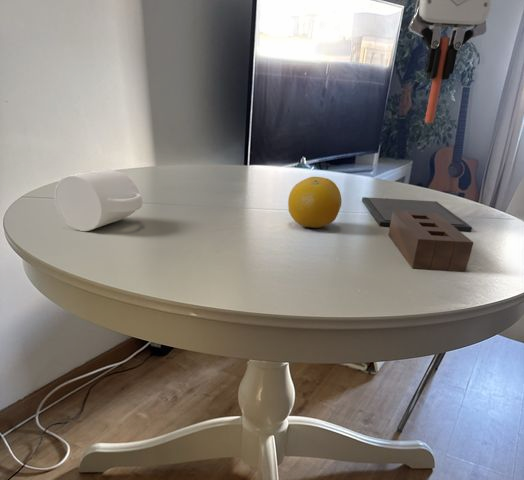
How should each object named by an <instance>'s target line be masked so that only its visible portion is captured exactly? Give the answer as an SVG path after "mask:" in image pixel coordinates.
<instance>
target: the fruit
mask: <svg viewBox="0 0 524 480" xmlns="http://www.w3.org/2000/svg"><path fill="white" fill-rule="evenodd" d="M342 204H343V203H342V194H341V191H340V189H339V187H338V186H337V185H336V183H335V182H334V181H333V180H332V179H329V178H326V177H323V176H310V177H307V178H305V179H303V180H301V181H299V182H297V183H296V184H295V185H294V186H293V188H292V189H291V190H290V192H289V195H288V201H287V205H288V206H287V208H288V211H289V215H290V217H291V218H292V219H293V220H294V222H296V223H297V224H298V225H300V226H301V227H304V228H309V229H319V228H322V227H323V228H324V227H326V226H328V225H331V224H332V223H333V222H334V221H335V220H336V219H337V217H338V215H339V213H340V210H341V208H342Z"/></svg>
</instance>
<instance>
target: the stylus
mask: <svg viewBox="0 0 524 480" xmlns="http://www.w3.org/2000/svg"><path fill="white" fill-rule="evenodd" d="M449 41H450V37H449V36H448V37H447V36H440V43H439V44H440V48H439V49H441V56H440V61H439V66H438V71H437V76H436V78H435V79H432V80H431V87H430V92H429V97H428V103H427V107H426V112H425V117H424V123H425V124H434V121H435V117H436V111H437V105H438V101H439V96H440V91H441V85H442V81H443V80H442V76H443V71H444V66H445V61H446V56H447V51H448V46H449Z"/></svg>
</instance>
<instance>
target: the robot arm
mask: <svg viewBox="0 0 524 480" xmlns="http://www.w3.org/2000/svg"><path fill="white" fill-rule="evenodd" d="M491 3H492V0H416V3H415V10H414V13H413V16H412V17H411V20H410V22H409V25H408V27H407V29H408V31H409V32H411V33H413V34H415V35H417V36H420V38H421V39H422V41H423V42H424V44H425V46H426V49H427V50H428V51H427V57H426V61H425V68H424V73H425V74H426V79H427V80H433V79H435V78H436V76H437V71H438V66H439V61H440V56H441V49H439V48H440V39H441V37H442V36H441V35H442V29H443V27H445V28H446V27H447V28H452V30H451V35H450V37H449V38H450V41H449V46H448V51H447V56H446V61H445V66H444V71H443V76H442V81H444V80H449V79H450V76H451V75H452V74H453V73H454V70H455V65H456V60H457V55H458V51H459V50H461V48H462V47H463V46H464V45H465V44H466V43H467V42H468V41H470V39H473V38H476V37H480V36H482V35H484V34H485V33H486V32H487V19H488V16H489V13H490V8H491ZM427 26H428V27H427ZM471 27H472V28H471ZM467 28H470V29H467Z"/></svg>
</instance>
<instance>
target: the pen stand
mask: <svg viewBox="0 0 524 480" xmlns="http://www.w3.org/2000/svg"><path fill="white" fill-rule="evenodd" d="M387 235H388V237H389V238H390V240H391V241H392V242H393V244H394V245H395V247H396V248H397V249H398V251H399V252H400V253H401V254H402V256H403V257H404V259H405V261H407V263H408V264H409V266H410V267H411V269H419V270H432V271H433V270H434V271H449V272H450V271H451V272H464V273H465V272H467V268H468V264H469V261H470V258H471V253H472V249H473V246H474V241H472V240H471V239H470V238H469V237H467V236H466V235H465V234H464V233H463V232H462V231H459V230H457V229H456V228H455V227H454V226H452V225H451V224H450V223H449V222H447V221H446V220H445V219H444V218H443V217H441V216H440V215H439V214H438V213H425V212H407V211H393V212H392V217H391V223H390V227H389V229H388V234H387Z"/></svg>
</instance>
